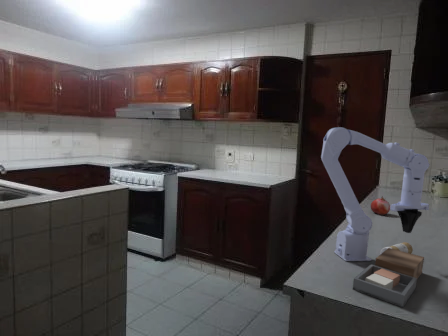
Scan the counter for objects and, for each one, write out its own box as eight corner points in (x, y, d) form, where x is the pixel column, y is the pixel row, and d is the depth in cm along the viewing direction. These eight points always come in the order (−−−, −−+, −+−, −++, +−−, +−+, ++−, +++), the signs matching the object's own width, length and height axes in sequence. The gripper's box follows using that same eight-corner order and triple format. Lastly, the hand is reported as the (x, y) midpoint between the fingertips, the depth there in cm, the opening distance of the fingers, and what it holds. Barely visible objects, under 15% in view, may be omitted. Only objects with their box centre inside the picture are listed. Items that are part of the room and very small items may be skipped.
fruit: (370, 210, 183) (372, 193, 182) (389, 213, 179) (391, 195, 178) (369, 214, 175) (371, 195, 174) (389, 217, 171) (391, 198, 170)
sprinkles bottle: (397, 247, 119) (376, 253, 111) (406, 239, 116) (385, 244, 108) (407, 257, 116) (386, 264, 108) (416, 250, 114) (396, 256, 106)
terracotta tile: (380, 276, 95) (381, 268, 95) (399, 283, 91) (400, 275, 91) (372, 281, 92) (373, 272, 91) (391, 288, 88) (392, 279, 88)
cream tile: (365, 277, 88) (364, 286, 88) (384, 285, 84) (383, 294, 84) (374, 273, 91) (373, 282, 91) (393, 280, 87) (392, 289, 87)
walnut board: (386, 262, 108) (388, 247, 107) (421, 272, 101) (424, 257, 101) (373, 274, 98) (375, 258, 97) (411, 286, 91) (414, 269, 90)
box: (369, 273, 98) (370, 264, 97) (415, 288, 90) (417, 278, 90) (352, 289, 87) (353, 278, 87) (402, 307, 79) (404, 295, 79)
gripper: (417, 188, 112) (412, 227, 114) (384, 188, 107) (379, 229, 108) (437, 192, 105) (431, 233, 107) (403, 193, 100) (397, 236, 102)
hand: (406, 232), depth 107 cm, fingers closed
